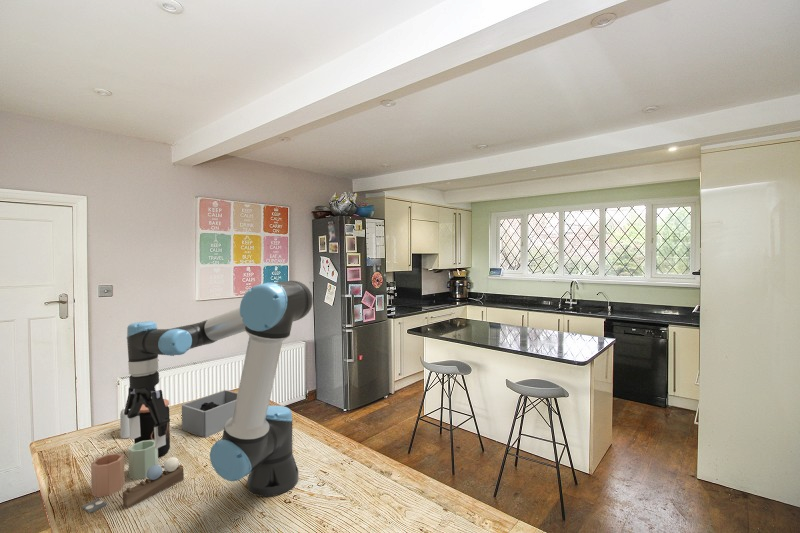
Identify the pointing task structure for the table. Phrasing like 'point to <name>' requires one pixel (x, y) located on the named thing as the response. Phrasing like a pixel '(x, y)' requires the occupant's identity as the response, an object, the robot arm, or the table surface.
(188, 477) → the table surface
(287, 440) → the robot arm
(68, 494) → the table surface
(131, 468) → the tubes
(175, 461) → the cream ball
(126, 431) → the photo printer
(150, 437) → the coffee jar
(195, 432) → the box
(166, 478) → the rack
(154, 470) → the blue ball
